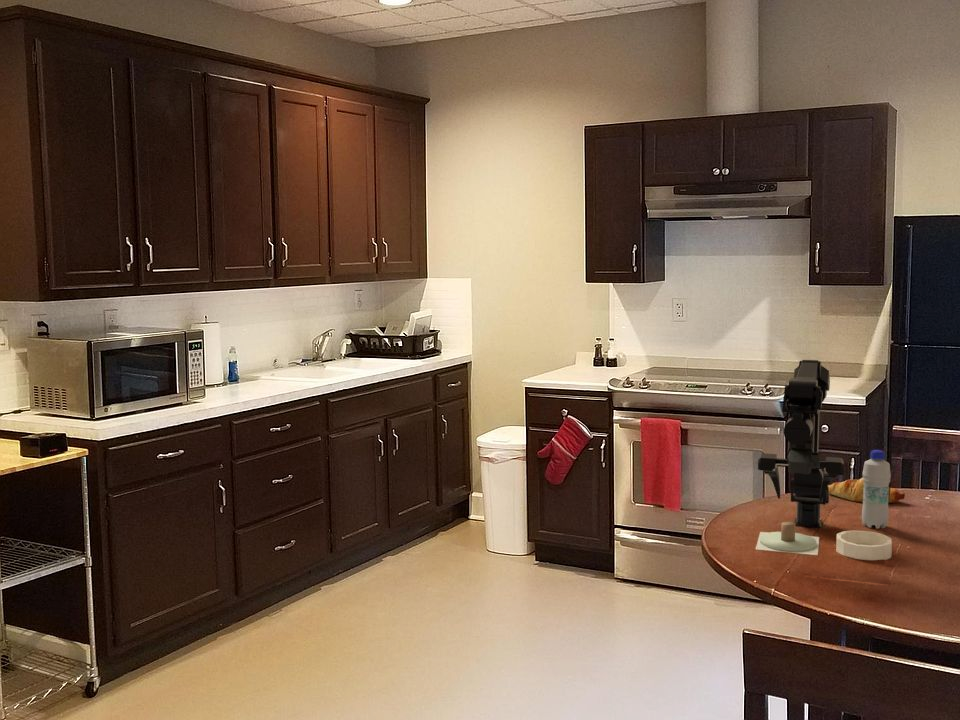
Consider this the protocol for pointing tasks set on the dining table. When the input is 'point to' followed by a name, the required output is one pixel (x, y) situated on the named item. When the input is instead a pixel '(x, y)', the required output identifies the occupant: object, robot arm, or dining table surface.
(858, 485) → the croissant
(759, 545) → the mat
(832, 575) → the dining table surface
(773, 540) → the lid
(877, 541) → the bowl
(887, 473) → the bottle
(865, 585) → the dining table surface
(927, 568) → the dining table surface
